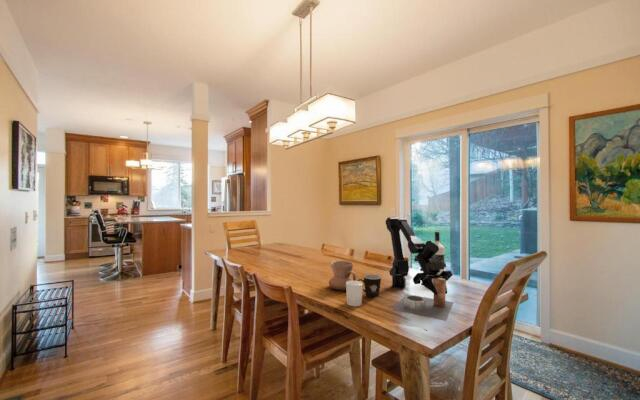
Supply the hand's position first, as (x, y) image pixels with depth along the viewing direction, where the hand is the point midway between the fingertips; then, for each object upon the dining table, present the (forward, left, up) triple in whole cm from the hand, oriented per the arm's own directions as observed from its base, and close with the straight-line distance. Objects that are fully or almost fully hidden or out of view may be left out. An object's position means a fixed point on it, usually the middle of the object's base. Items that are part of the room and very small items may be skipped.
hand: (441, 293), depth 132 cm
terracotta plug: (-1, +1, -6) cm, 6 cm away
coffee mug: (-34, -1, -7) cm, 35 cm away
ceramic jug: (-51, +3, -7) cm, 52 cm away
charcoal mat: (-7, -3, -7) cm, 10 cm away
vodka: (-9, +43, -7) cm, 44 cm away
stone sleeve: (-10, -7, -6) cm, 14 cm away
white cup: (-36, -15, -7) cm, 40 cm away
